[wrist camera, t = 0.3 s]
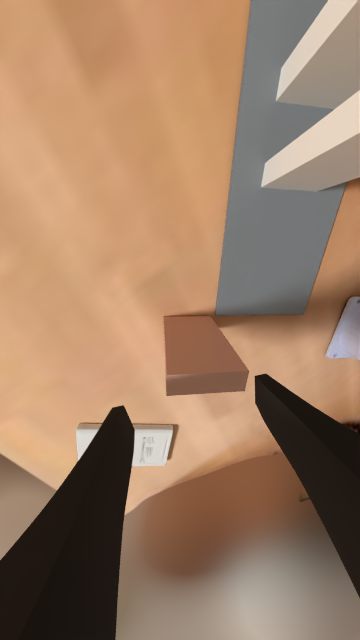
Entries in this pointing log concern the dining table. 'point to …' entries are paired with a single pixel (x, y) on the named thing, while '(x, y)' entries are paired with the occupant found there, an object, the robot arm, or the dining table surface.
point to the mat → (267, 203)
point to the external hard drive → (135, 442)
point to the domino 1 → (200, 358)
